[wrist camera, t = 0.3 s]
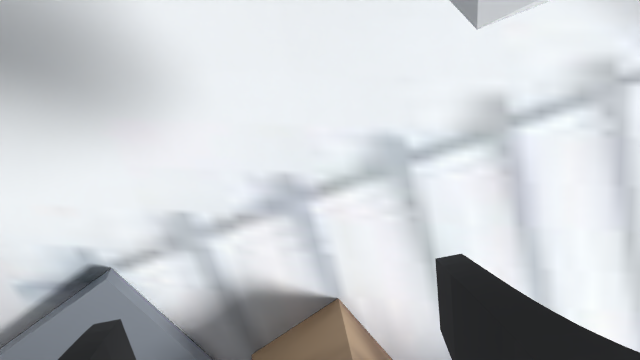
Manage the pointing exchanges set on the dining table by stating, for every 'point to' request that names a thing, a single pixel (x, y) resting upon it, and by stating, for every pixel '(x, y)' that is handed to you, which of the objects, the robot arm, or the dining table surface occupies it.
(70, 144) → the dining table surface
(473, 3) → the die
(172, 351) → the slate coaster
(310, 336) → the tan cube
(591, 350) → the robot arm
